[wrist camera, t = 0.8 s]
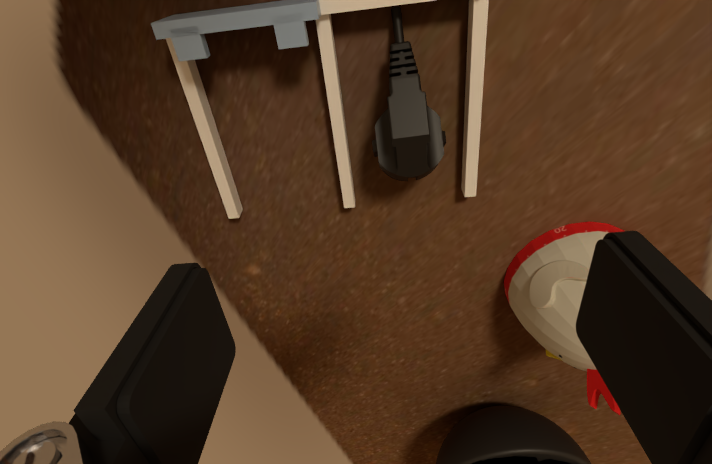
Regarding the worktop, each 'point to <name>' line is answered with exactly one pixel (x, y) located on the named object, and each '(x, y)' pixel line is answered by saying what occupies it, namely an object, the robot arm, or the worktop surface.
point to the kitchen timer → (558, 295)
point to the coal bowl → (509, 439)
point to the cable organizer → (290, 29)
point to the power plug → (407, 117)
